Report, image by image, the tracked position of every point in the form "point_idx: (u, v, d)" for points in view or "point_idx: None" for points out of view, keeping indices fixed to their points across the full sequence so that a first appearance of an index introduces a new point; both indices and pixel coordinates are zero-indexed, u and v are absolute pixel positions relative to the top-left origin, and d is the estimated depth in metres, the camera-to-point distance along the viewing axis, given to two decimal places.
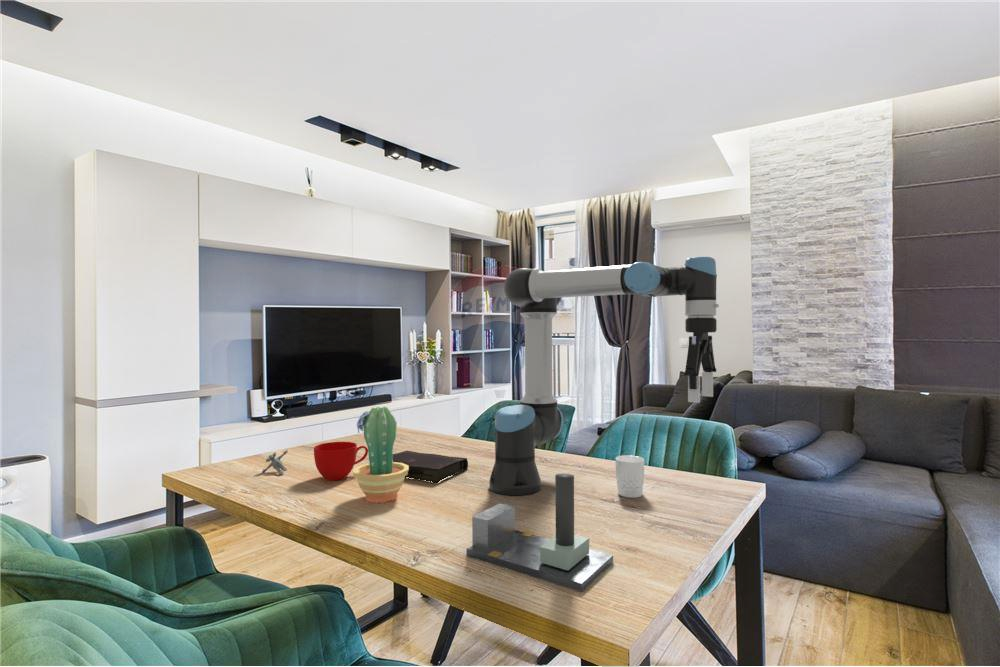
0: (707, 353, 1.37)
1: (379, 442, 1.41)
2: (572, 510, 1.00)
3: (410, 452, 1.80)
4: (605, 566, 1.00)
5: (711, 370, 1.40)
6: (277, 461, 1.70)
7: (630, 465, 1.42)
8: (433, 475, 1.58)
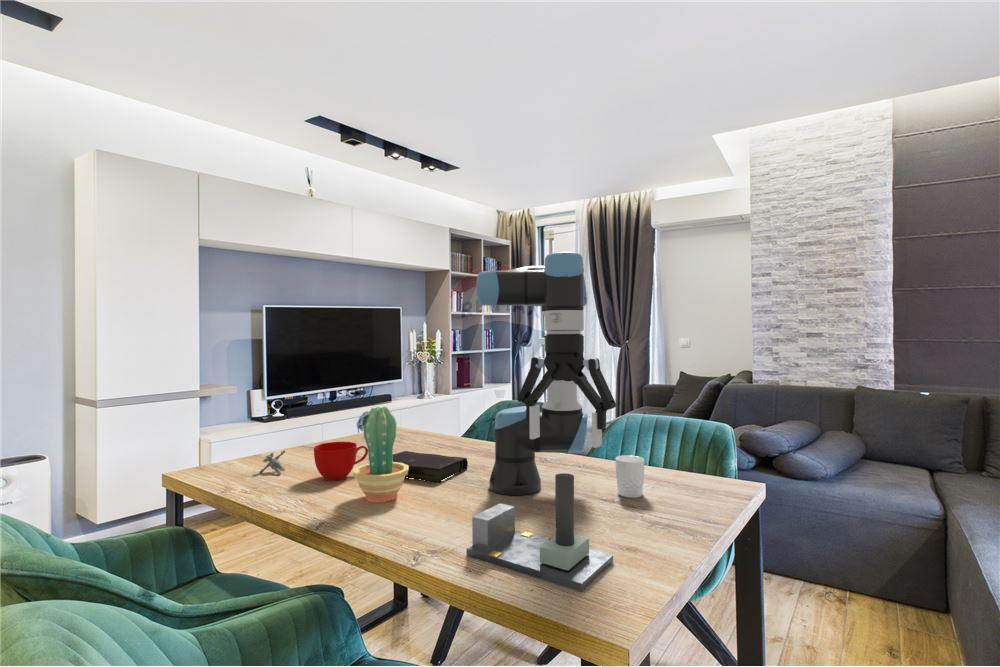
0: None
1: (379, 442, 1.41)
2: (572, 510, 1.00)
3: (409, 452, 1.80)
4: (605, 566, 1.00)
5: (596, 409, 0.96)
6: (275, 461, 1.70)
7: (630, 465, 1.42)
8: (434, 475, 1.59)
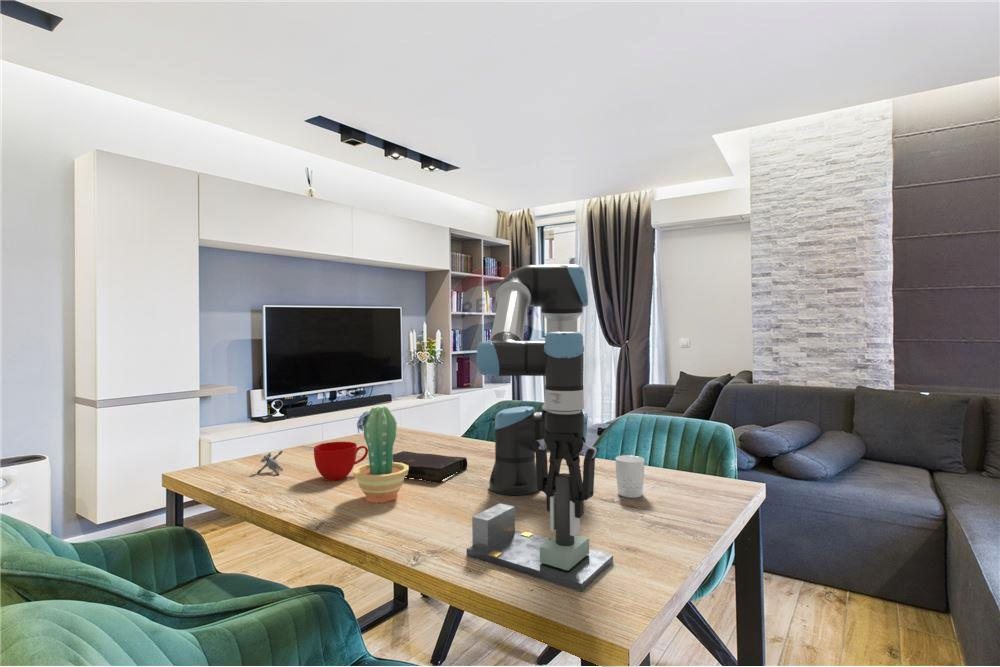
0: None
1: (379, 442, 1.41)
2: None
3: (408, 452, 1.80)
4: (605, 566, 1.00)
5: None
6: (273, 461, 1.70)
7: (630, 465, 1.42)
8: (435, 475, 1.59)
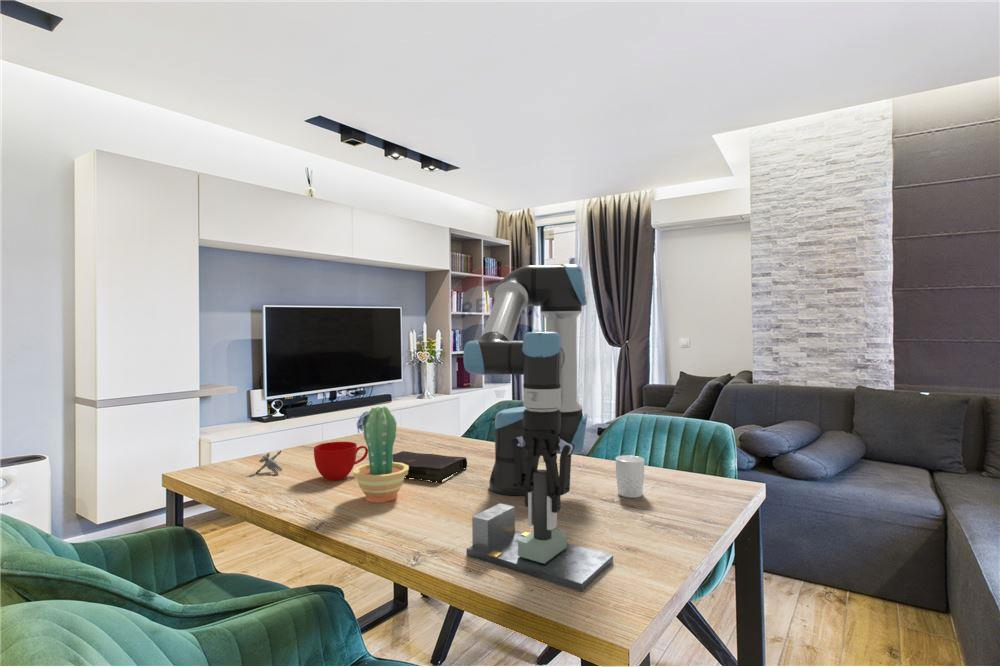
0: None
1: (379, 442, 1.41)
2: None
3: (407, 452, 1.80)
4: (605, 566, 1.00)
5: None
6: (272, 461, 1.70)
7: (630, 465, 1.42)
8: (436, 475, 1.59)
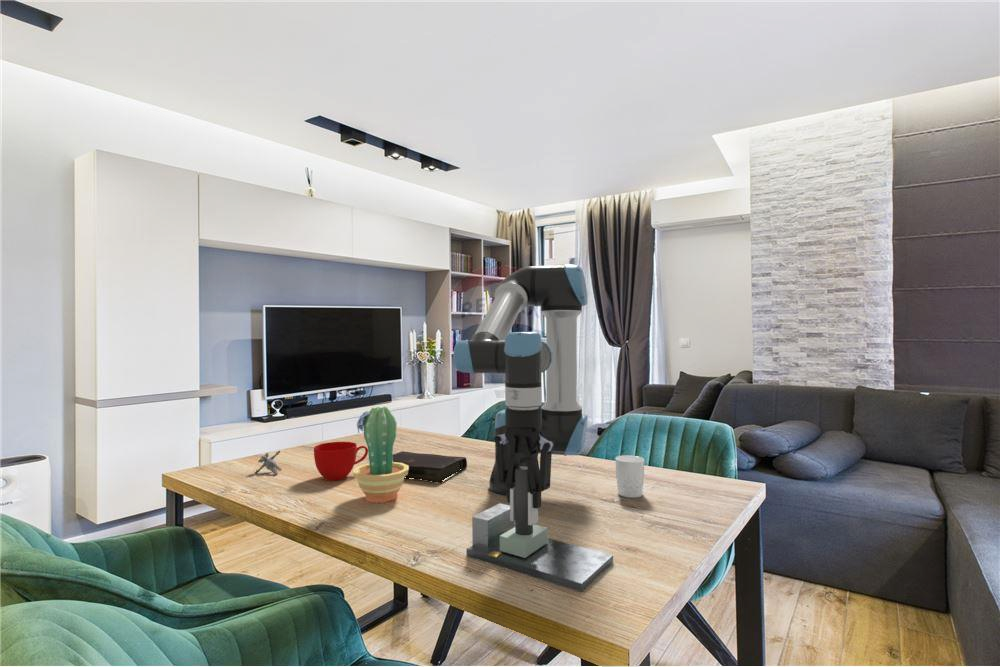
0: None
1: (379, 442, 1.41)
2: None
3: (406, 453, 1.80)
4: (605, 566, 1.00)
5: None
6: (271, 461, 1.70)
7: (630, 465, 1.42)
8: (436, 475, 1.59)
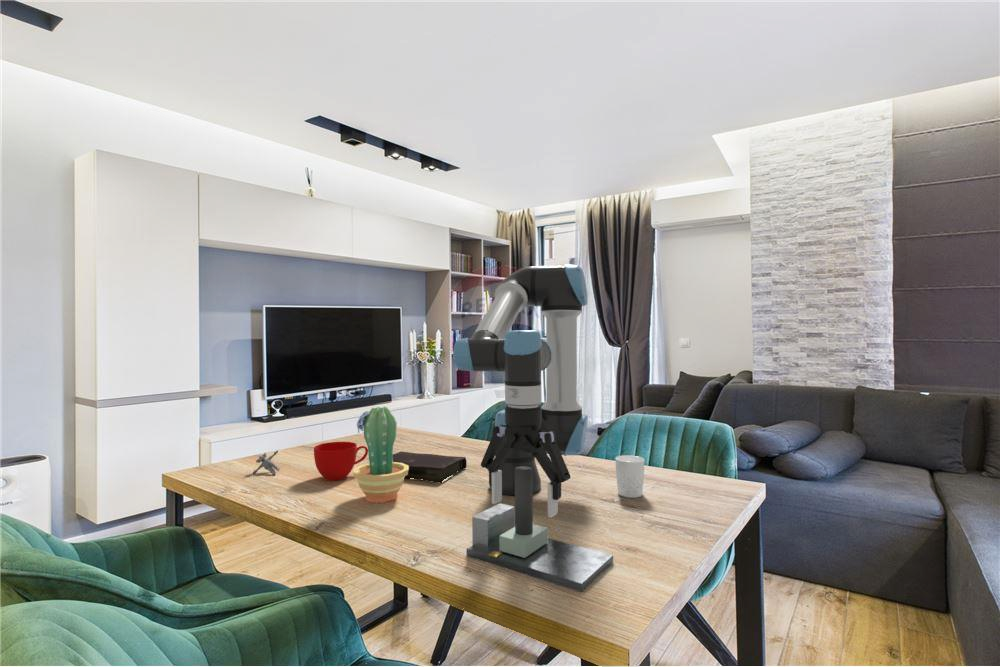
0: None
1: (379, 442, 1.41)
2: (530, 501, 1.05)
3: (406, 453, 1.79)
4: (605, 566, 1.00)
5: None
6: (269, 461, 1.69)
7: (630, 465, 1.42)
8: (437, 474, 1.59)
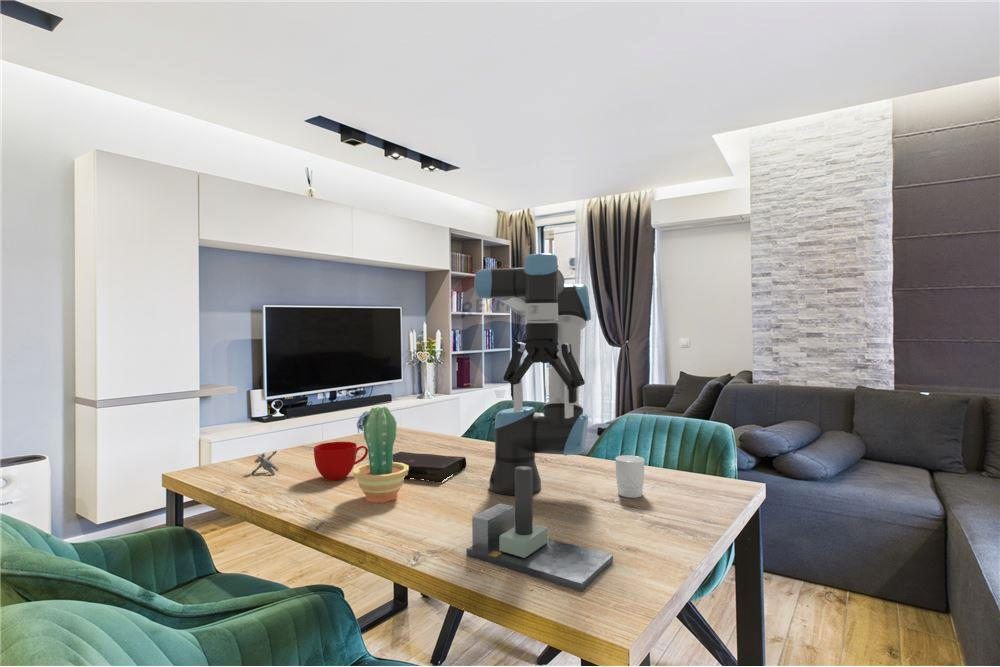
0: None
1: (379, 442, 1.41)
2: (530, 501, 1.05)
3: (405, 453, 1.79)
4: (605, 566, 1.00)
5: None
6: (267, 461, 1.69)
7: (630, 465, 1.42)
8: (437, 474, 1.59)
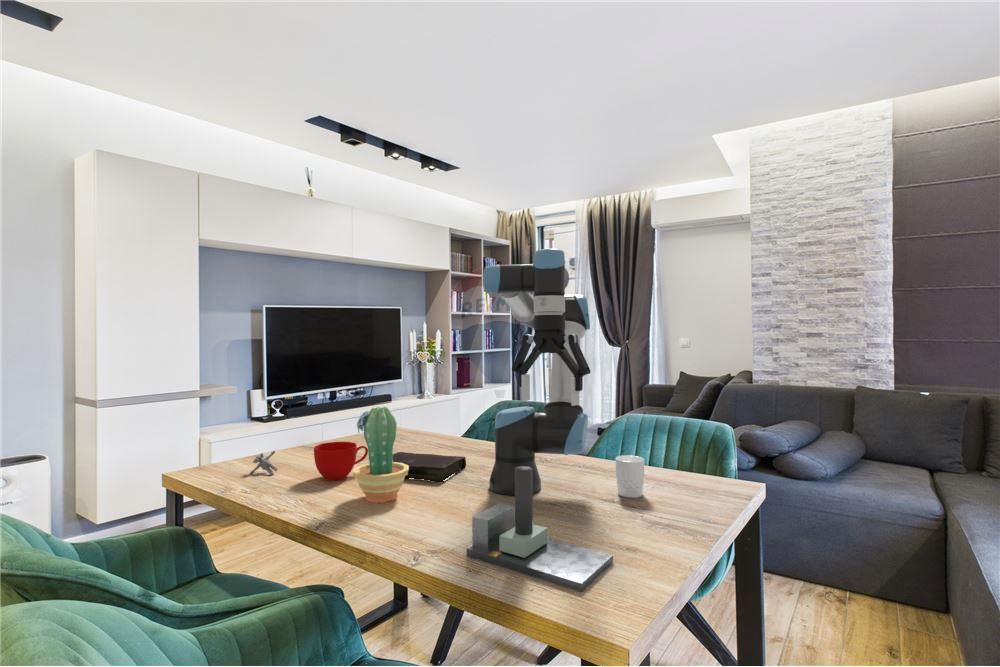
0: None
1: (379, 442, 1.41)
2: (530, 501, 1.05)
3: (404, 453, 1.79)
4: (605, 566, 1.00)
5: None
6: (266, 462, 1.69)
7: (630, 465, 1.42)
8: (438, 474, 1.59)
